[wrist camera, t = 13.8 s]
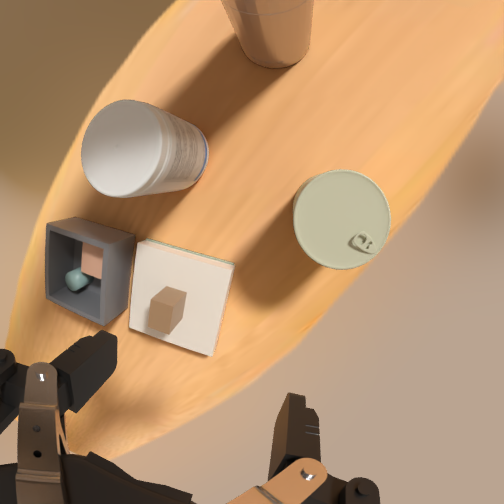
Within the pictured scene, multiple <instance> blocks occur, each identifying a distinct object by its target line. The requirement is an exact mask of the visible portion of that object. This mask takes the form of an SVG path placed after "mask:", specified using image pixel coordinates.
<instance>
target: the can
mask: <svg viewBox="0 0 504 504" xmlns="http://www.w3.org/2000/svg"><path fill="white" fill-rule="evenodd" d="M390 225H391V214H390V208H389V205H388V201H387V199H386V197H385V195H384V193H383V192H382V190H381V189H380V188H379V186H378V185H377V184H376V183H375V182H374V181H373V180H371V179H370V178H369V177H367V176H365V175H363V174H361V173H359V172H356V171H352V170H342V169H339V170H332V171H328V172H325V173H323V174H319V175H316V176H313V177H311V178H310V179H308V180H307V181H305V182H304V183H303V184H302V185H301V187H300V188H299V189H298V191H297V193H296V195H295V198H294V201H293V227H294V232H295V235H296V238H297V241H298V243H299V245H300V246H301V248H302V249H303V251H304V252H305V253H306V254H307V255H308V256H309V257H310V258H311V259H312V260H314V261H315V262H317V263H318V264H320V265H322V266H325V267H328V268H332V269H338V270H346V269H352V268H356V267H359V266H361V265H363V264H365V263H367V262H369V261H370V260H371V259H373V258H374V257H375V256H376V255H377V254H378V253H379V251H380V250H381V249H382V247H383V246H384V244H385V242H386V240H387V237H388V235H389V231H390Z"/></svg>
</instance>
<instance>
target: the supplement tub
mask: <svg viewBox="0 0 504 504" xmlns="http://www.w3.org/2000/svg"><path fill="white" fill-rule="evenodd" d="M208 159H209V147H208V143H207V140H206V138H205V136H204V134H203V133H202V132H201V131H200V129H199V128H197V127H196V126H195V125H193V124H191V123H189V122H187V121H185V120H183V119H181V118H179V117H177V116H175V115H173V114H171V113H168V112H166V111H164V110H162V109H160V108H158V107H155V106H153V105H150V104H148V103H145V102H140V101H135V100H120V101H116V102H113V103H111V104H109V105H108V106H106V107H104V108H103V109H102V110H101V111H100V112H99V113H98V114H97V115H96V116H95V117H94V118H93V120H92V121H91V122H90V124H89V126H88V128H87V130H86V132H85V135H84V138H83V142H82V149H81V160H82V166H83V170H84V173H85V175H86V177H87V179H88V181H89V183H90V184H91V185H92V186H93V187H94V188H95V189H96V190H97V191H98V192H100V193H102V194H104V195H106V196H110V197H120V198H129V197H136V196H144V195H151V194H158V193H165V192H173V191H179V190H183V189H186V188H188V187H190V186H192V185H193V184H194V183H195V182H197V181H198V180H199V178H200V177H201V176H202V174H203V173H204V171H205V169H206V166H207V163H208Z"/></svg>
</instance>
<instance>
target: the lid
mask: <svg viewBox="0 0 504 504" xmlns="http://www.w3.org/2000/svg"><path fill="white" fill-rule="evenodd" d="M234 269H235V266H234V265H231V264H227V263H223V262H220V261H216V260H213V259H209V258H206V257H202V256H199V255H195V254H192V253H188V252H185V251H181V250H178V249H174V248H171V247H168V246H164V245H161V244H157V243H154V242H150V241H147V240H143V241H141V242H139V243H138V244H137V251H136V259H135V267H134V276H133V285H132V296H131V307H130V321H129V327H130V328H132V329H135V330H137V331H140V332H142V333H145V334H148V335H150V336H153V337H156V338H158V339H161V340H164V341H167V342H169V343H172V344H175V345H178V346H181V347H184V348H187V349H190V350H193V351H196V352H199V353H202V354H205V355H208V356H211V357H212V356H213V354H214V352H215V350H216V346H217V342H218V337H219V333H220V329H221V324H222V320H223V316H224V312H225V307H226V303H227V299H228V295H229V290H230V286H231V282H232V278H233V274H234Z"/></svg>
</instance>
